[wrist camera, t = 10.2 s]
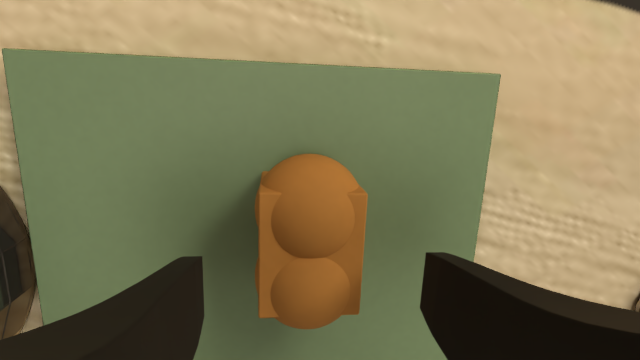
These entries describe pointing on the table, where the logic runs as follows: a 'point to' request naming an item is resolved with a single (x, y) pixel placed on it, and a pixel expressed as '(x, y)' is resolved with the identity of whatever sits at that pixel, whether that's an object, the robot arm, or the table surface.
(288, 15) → the table surface
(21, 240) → the pan
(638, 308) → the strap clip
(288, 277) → the orange double sphere block
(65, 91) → the cutting board
